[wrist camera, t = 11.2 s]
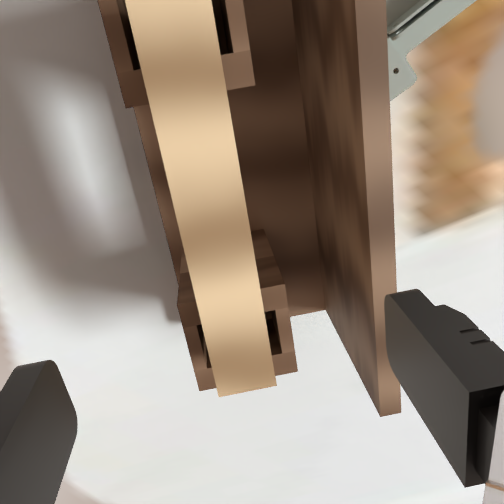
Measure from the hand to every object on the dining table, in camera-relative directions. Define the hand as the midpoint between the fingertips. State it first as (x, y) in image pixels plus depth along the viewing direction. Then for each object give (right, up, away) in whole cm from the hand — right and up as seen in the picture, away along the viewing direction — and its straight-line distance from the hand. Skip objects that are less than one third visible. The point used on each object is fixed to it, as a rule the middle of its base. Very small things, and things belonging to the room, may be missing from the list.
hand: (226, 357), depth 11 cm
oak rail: (-2, +6, +15) cm, 17 cm away
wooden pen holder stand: (0, +10, +22) cm, 24 cm away
